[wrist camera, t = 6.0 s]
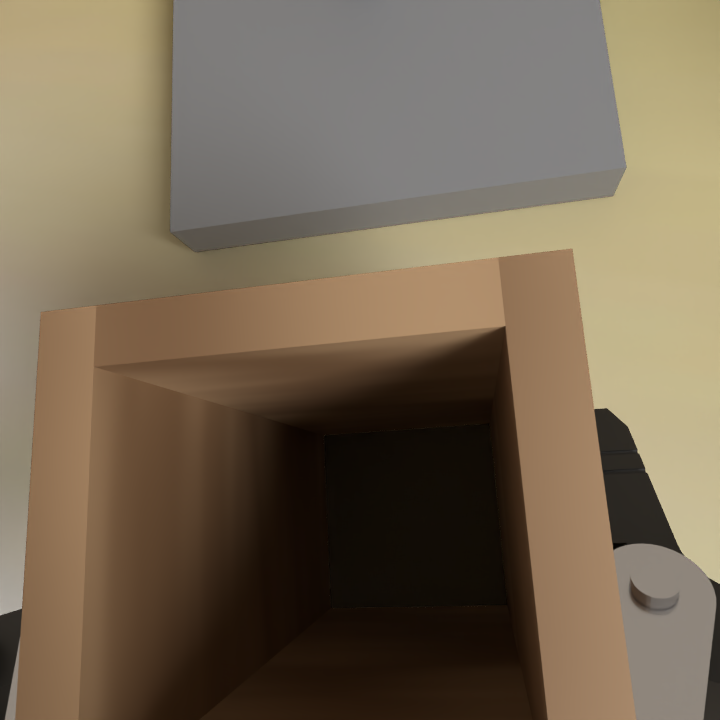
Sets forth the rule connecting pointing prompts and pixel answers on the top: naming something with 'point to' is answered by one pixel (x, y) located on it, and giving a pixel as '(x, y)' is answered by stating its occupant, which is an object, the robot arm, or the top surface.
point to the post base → (383, 114)
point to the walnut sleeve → (311, 503)
